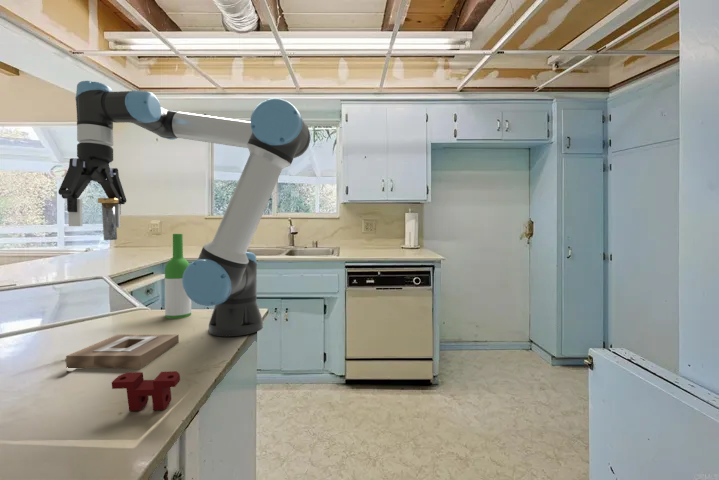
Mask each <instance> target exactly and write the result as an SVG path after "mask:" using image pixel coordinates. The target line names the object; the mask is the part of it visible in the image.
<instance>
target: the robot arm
mask: <svg viewBox="0 0 719 480" xmlns="http://www.w3.org/2000/svg"><path fill="white" fill-rule="evenodd" d="M75 92H76V93H75V95H76V96H75V104H76V105H75V107H76V141H77V142H78V143H77V144H76V158H73V157H72V158H71V157H70V159H69V161H68V163H69V165H68V168H67V170H66V173H65V176H64V178H63V180H62V182H61V184H60V187H59V188H58V194H59V196H61V198H62V199H66V204H67V205H66V210H67V213H68V227H83V199H81V198H80V197H81V195H82V193H84V191H85V190H86V189H87V187H88V185H89V184H90V183H91V182H92V181H93V182H96V183H98V184H99V185H100V186H101V188H102V189H103V191H104V193H105V195H106V196H107V198H115V199H119V203H115V209H116V227H117V228H119V229H120V228H121V215H122V214H121V213H122V211H121V209H122V207H121V206H122V205H125V204H126V203H127V198H126V195H125V192H124V188H123V185H122V183H121V180H120V175H119V174H120V173H119V169H118V168H117V167H115V168H114V167H113V168H111V167H110V163H112V162H113V161H114V148H113V146H114V124H115V123H118V124H119V123H122V124H124V123H130V124H134V125H136V126H138V127H140V128H142V129H144V130H147V131H149V132H151V133H153V134H155V135H157V136H159V137H161V138H162V139H167V140H176V139H183V140H188V141H196V142H197V141H198V142H203V143H204V142H205V143H210V144H218V145H223V146H224V145H225V146H230V147H237V148H243V149H248V151H249V156H248V158H247V161H246V162H245V165H244V168H243V170H242V172H241V175H240V176H239V179H238V182H237V184H236V186H235V188H234V191H233V192H232V196H231V198H230V200H229V202H228V205H227V207H226V209H225V211H224V213H223V216H222V219H221V221H220V223H219V226H218V228H217V230H216V233H215V235H214V237H213V239H212V241H210V242H207V243H205V244H204V245H203V246H202V248H201V250H200V252H199V253H200V254H199V256H198V258H197V259H196V260H193V261H192V262H191V263H189V264H190V265H189V266H188V267H187V268H186V269H185V271H184V274H183V278H182V283H183V288H184V290H185V292H186V294H187V296H188V297H189V298H190V299H191V302H193V303H195V304H197V305H199V306H204V307H211V306H212V307H213V311H212V314H211V316H210V321H209V323H208V333H209V334H210V335H213V336H217V337H239V336H246V335H251V334H255V333H257V332H260V331H261V330H262V329H263V328H264V320H263V317H262V313H261V312H260V309H259V305H258V302H257V300H258V299H257V298H258V297H257V294H258V293H257V292H258V291H257V288H258V280H257V276H258V275H257V272H258V271H257V269H258V268H257V266H258V262H257V256H256V255H257V254H255V253H254V252H251V251H248V249H249V247H250V245H251V243H252V240H253V238H254V236H255V233H256V231H257V228H258V225H259V224H260V221H261V220H262V217H263V214H264V212H265V210H266V208H267V205H268V203H269V201H270V198H271V197H272V194H273V191H274V189H275V187H276V185H277V182H278V180H279V179H280V178H279V177H280V176H281V173H282V170H283V169H284V168H288V167H291V165H292V163H293V161H294V159H296V158H299V157H301V156H302V155H304V154H305V153H306V151H307V150H308V149H309V147H310V143H311V132H310V129H309V127H308V125H307V124H306V122H305V121H304V119H303V116H302V115H301V112H300V110H299V109H297V108H296V107H295V106H294V104H292V102H290V101H288V100H285V99H283V98H280V97H279V98H278V97H273V98H269V99H266V100H262V101H261V102H259V104H257V105H256V106H255V108H254V109H253V110H252V113H251V115H250V120H249V121H248V120H241V119H233V118H227V117H220V116H219V117H218V116H211V115H205V114H198V113H191V112H184V111H176V110H170V109H169V110H168V109H165V108H163V107H161V102H160V101H159V99H158V98H157V96H156V95H155V94H154V93H153V92H150V91H143V90H138V89H137V90H135V89H134V90H125V91H113V89H112V88H111V87H110V86H108V85H107V84H105V83H102V82H99V81H91V80H82V81H80V82H78V83H77V84H76V91H75Z"/></svg>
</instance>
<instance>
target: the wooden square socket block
mask: <svg viewBox="0 0 719 480" xmlns="http://www.w3.org/2000/svg"><path fill="white" fill-rule="evenodd" d="M179 340H180V339H179V334H178V333H177V334H116V335H113V336H110V337H109V338H106V339H104V340H101V341H99V342H97V343H94V344H91V345H89V346H86V347H84V348H82V349H79V350H77V351H75V352H73V353H70V354H68V355H66V356H65V362H66V363H65V368H67V367H68V368H84V369H86V368H87V369H89V368H91V369H93V368H95V369H137V370H138V369H140V370H142V369H143V368H144V367H145V366H147V365H148V364H150V363H151V362H152V361H154V360H156V359H157V358H158V357H160V356H161V355H162V354H164V353H166V352H167V351H168V350H170V349H171V348H174V347H175V345H177V344H179V342H180V341H179Z"/></svg>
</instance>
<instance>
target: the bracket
mask: <svg viewBox="0 0 719 480" xmlns="http://www.w3.org/2000/svg"><path fill="white" fill-rule="evenodd" d="M180 381H181V375H180V373H179V372H178V371H177V370H176V371H174V370H173V371H160V373H158V375H157V376H156V377H155V378H154V379H144V372H142V371H140V372H139V371H138V372H125V373H123V374H120V375H118V376H117V377H116V378H114V379H113V380H112V382H111V383H110V384H111V389H112V390H114V389H115V390H118V389H119V390H121V389H126V396H127V402H128V403H127V404H128V405H127V406H128V411H129V412H135V411H138V412H140V411H142V410H144V408H145V407H146V406H147V404H148V402H149V397H151V400H152V402H151V403H152V410H153V411H163V410H164V411H165V410H166V409H167V408H168V407H169V405H170V404H171V401H172V391H171V388H176V386H177V385H178V384H179V383H180Z"/></svg>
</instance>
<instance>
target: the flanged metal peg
mask: <svg viewBox="0 0 719 480" xmlns="http://www.w3.org/2000/svg"><path fill="white" fill-rule="evenodd" d="M115 203H119V199H115V198H108V197H107V198H105V197H100V198H97V204H101V215H102V232H103V240H104V241H113V240H114V241H115V240H118V233H117V232H118V231H117V230H118V229H117V227H116V209H115Z"/></svg>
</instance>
